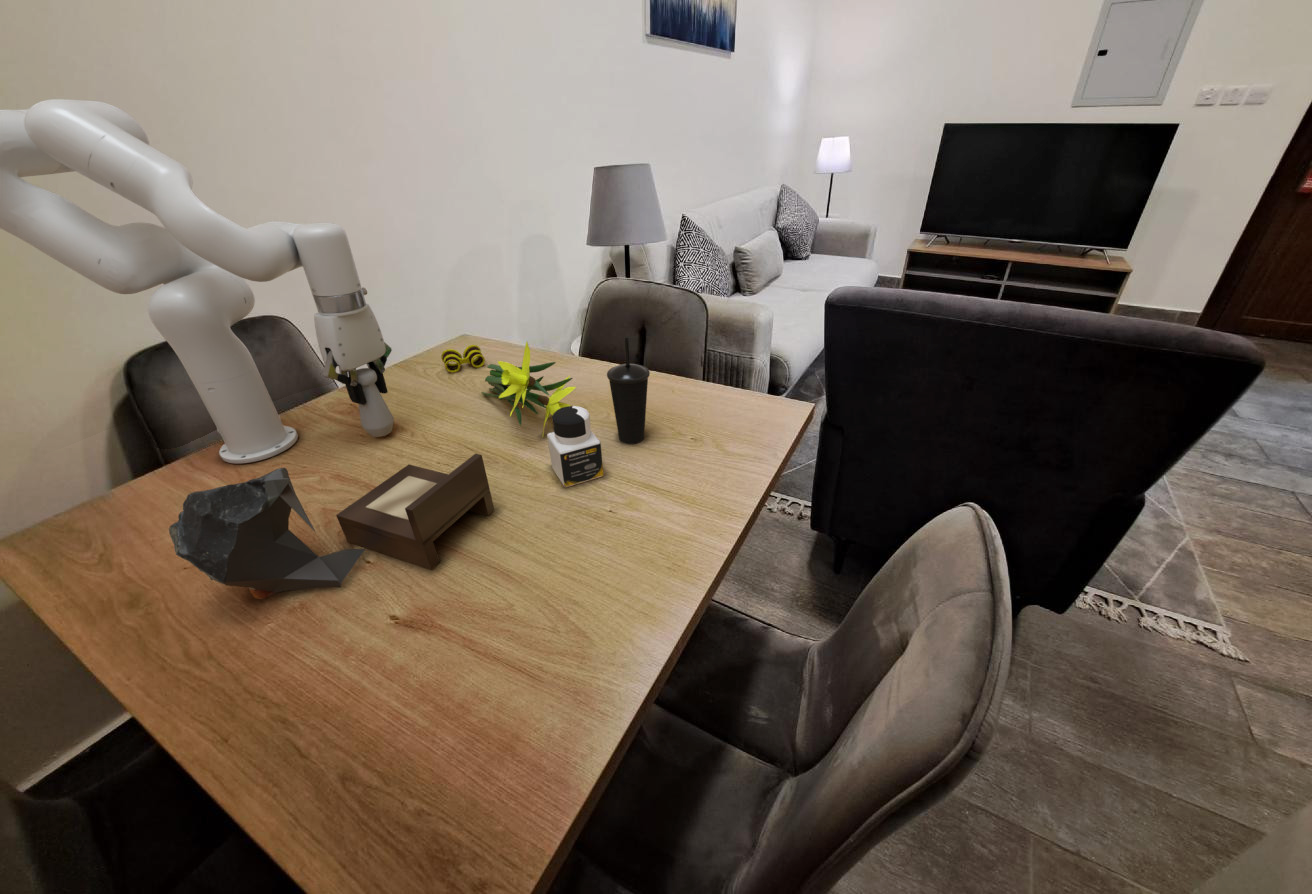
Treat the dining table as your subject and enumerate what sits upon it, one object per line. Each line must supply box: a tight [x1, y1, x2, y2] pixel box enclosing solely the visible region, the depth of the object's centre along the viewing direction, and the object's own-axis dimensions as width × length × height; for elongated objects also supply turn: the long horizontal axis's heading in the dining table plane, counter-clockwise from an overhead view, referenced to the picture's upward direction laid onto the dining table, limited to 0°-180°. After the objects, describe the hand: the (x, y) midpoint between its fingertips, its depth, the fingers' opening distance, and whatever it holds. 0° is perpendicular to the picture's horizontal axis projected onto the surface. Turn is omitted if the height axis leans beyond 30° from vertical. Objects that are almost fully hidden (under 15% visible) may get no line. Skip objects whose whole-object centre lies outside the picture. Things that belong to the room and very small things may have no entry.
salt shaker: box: [356, 367, 395, 438], centre depth 101 cm, size 6×6×13 cm
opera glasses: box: [440, 344, 486, 373], centre depth 132 cm, size 10×5×5 cm, turn 118°
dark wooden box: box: [335, 453, 496, 571], centre depth 78 cm, size 16×14×10 cm
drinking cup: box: [606, 337, 651, 445], centre depth 96 cm, size 8×8×20 cm
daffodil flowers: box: [480, 341, 577, 438], centre depth 106 cm, size 17×15×35 cm
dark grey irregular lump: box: [168, 467, 367, 600], centre depth 67 cm, size 14×15×18 cm
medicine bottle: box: [546, 405, 604, 488], centre depth 89 cm, size 7×7×12 cm
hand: (369, 396), depth 100 cm, fingers closed on salt shaker, 4 cm apart
